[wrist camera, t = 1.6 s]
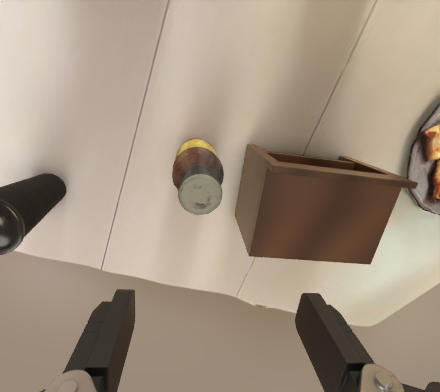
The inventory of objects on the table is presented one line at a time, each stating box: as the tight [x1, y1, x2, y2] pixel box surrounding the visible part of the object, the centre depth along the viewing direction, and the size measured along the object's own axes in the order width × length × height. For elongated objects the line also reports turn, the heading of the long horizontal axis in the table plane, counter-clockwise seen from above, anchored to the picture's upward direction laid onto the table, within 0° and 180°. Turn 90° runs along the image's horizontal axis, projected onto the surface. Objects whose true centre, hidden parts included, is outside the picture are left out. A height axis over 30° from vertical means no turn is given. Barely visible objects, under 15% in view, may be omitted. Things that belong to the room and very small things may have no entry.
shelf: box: [235, 144, 418, 264], centre depth 38 cm, size 18×13×15 cm
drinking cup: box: [0, 174, 66, 255], centre depth 32 cm, size 8×8×20 cm
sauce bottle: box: [172, 139, 224, 215], centre depth 32 cm, size 6×6×20 cm
